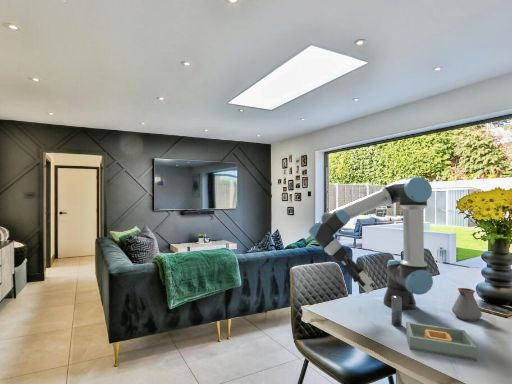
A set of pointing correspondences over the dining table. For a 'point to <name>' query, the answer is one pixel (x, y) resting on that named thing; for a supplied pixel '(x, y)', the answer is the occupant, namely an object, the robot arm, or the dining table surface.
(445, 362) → the dining table surface
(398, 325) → the peg
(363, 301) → the dining table surface
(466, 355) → the walled box
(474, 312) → the coffee pot
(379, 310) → the dining table surface
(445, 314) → the dining table surface
